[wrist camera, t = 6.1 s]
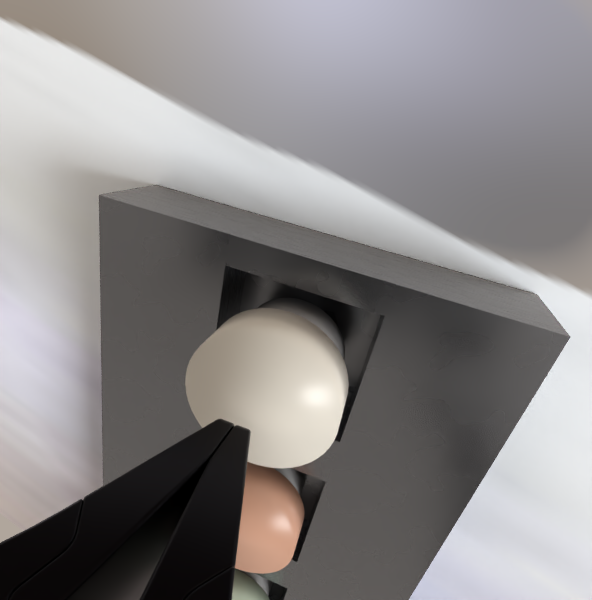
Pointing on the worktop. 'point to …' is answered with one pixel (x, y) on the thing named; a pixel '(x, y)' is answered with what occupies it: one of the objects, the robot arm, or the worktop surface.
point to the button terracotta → (269, 518)
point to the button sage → (250, 586)
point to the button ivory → (274, 380)
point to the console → (359, 362)
